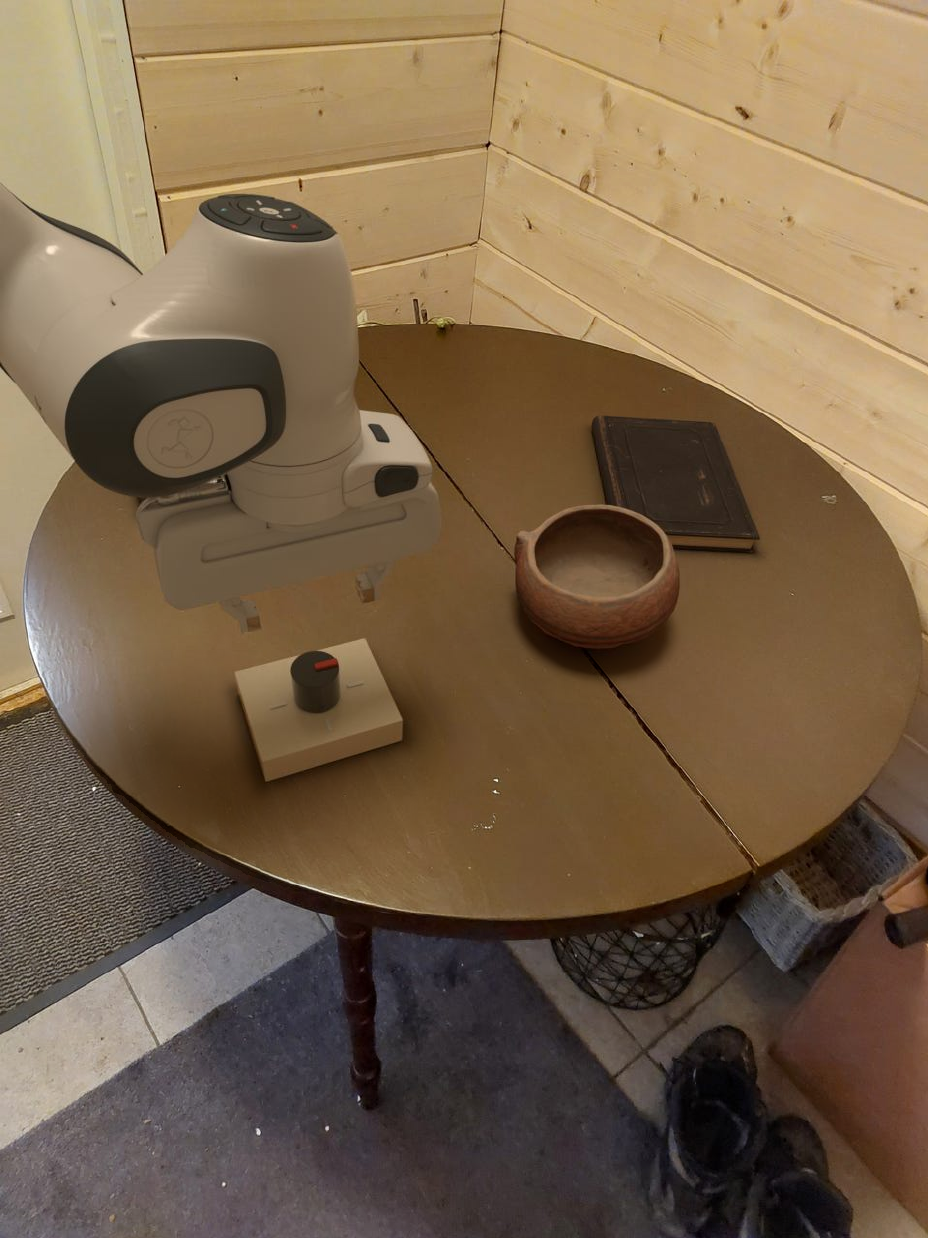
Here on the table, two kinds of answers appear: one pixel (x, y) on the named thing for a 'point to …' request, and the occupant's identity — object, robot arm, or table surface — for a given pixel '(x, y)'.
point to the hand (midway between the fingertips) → (310, 611)
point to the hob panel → (318, 737)
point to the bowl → (597, 576)
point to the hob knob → (315, 681)
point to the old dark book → (675, 480)
